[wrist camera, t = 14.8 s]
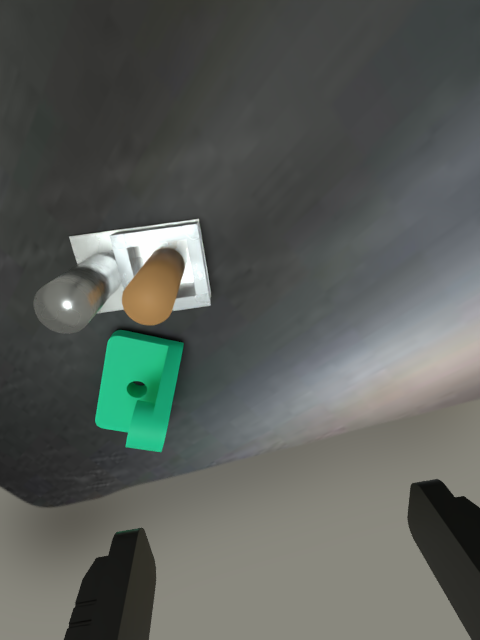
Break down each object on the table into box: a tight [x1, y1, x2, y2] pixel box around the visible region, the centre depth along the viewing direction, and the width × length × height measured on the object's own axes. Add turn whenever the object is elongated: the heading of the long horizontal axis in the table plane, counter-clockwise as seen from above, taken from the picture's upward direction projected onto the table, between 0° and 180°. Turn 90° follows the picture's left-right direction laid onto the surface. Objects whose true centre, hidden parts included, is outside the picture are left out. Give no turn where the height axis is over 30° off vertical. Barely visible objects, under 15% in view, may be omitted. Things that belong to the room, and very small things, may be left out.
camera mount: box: [95, 330, 184, 452], centre depth 35 cm, size 12×8×10 cm, turn 164°
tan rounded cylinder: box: [122, 248, 185, 325], centre depth 29 cm, size 4×4×11 cm
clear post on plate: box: [34, 219, 211, 334], centre depth 30 cm, size 12×8×11 cm, turn 97°
